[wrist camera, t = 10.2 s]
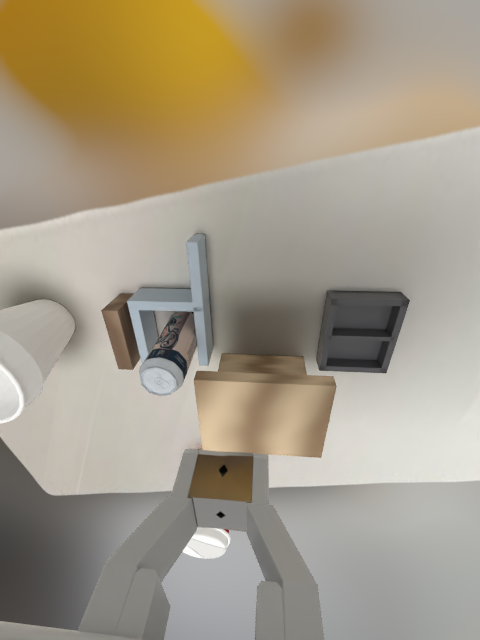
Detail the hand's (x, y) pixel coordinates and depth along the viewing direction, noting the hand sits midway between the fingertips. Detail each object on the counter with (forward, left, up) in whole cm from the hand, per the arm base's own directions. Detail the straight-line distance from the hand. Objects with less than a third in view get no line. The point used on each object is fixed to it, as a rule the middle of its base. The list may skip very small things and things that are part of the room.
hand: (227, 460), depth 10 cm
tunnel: (-1, +11, -27) cm, 29 cm away
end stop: (+17, +10, -27) cm, 33 cm away
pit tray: (-14, +10, -27) cm, 32 cm away
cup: (+30, +10, -27) cm, 41 cm away
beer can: (+9, +10, -27) cm, 30 cm away
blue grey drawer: (+10, +6, -26) cm, 29 cm away
